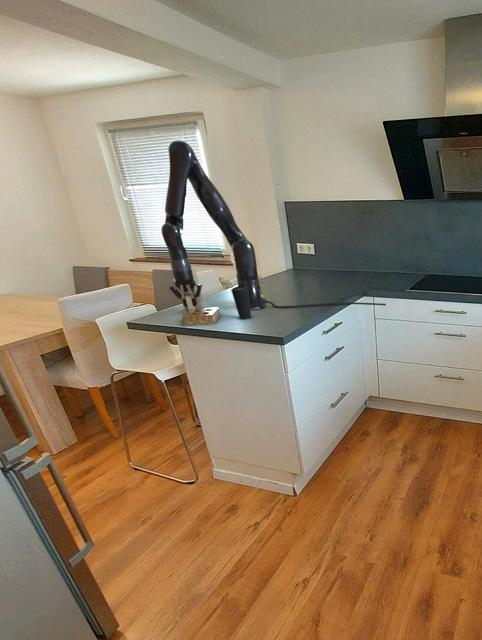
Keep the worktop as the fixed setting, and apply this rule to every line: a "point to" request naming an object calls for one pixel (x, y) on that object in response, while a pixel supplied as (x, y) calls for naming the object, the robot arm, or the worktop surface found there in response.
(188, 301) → the peg
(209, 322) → the peg block
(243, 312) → the drinking cup
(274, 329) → the worktop surface
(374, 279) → the worktop surface
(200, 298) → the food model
